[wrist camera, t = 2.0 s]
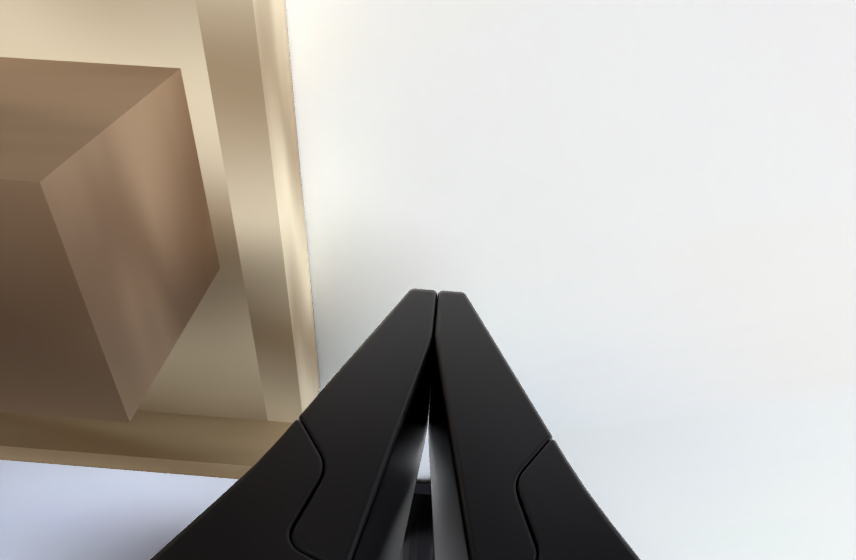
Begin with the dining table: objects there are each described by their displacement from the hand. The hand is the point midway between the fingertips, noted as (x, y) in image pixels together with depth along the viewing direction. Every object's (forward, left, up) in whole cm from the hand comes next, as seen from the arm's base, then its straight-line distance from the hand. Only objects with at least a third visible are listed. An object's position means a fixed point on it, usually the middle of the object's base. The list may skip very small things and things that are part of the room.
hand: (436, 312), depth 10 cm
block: (0, +7, -4) cm, 8 cm away
